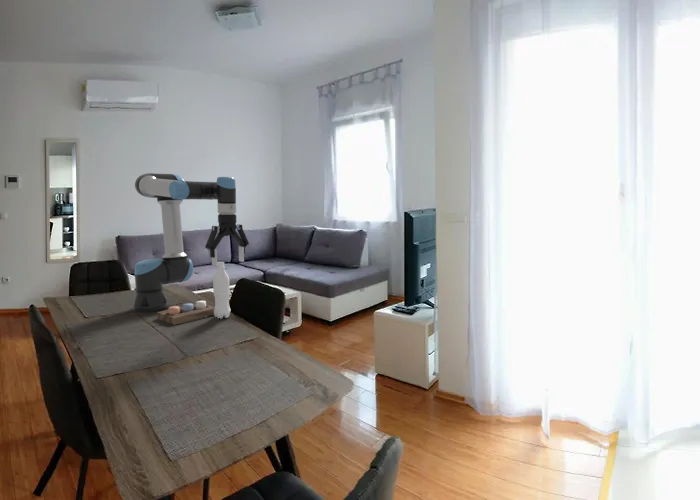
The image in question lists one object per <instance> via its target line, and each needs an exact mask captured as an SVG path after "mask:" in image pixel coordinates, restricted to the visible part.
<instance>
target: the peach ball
mask: <svg viewBox="0 0 700 500" xmlns="http://www.w3.org/2000/svg"><path fill="white" fill-rule="evenodd" d="M179 307H180V306H178V305H173V306H169V307H167V308H168V309H167V310H169V315H171V316H172V315H176V314H180V309H179Z"/></svg>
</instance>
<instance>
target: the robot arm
mask: <svg viewBox="0 0 700 500" xmlns="http://www.w3.org/2000/svg"><path fill="white" fill-rule="evenodd" d="M134 188H135V190H136V192H137V193H138V194H140V195H141V196H142V197H145V198H150V199H151V198H153V199H156V201H157V202H156V203H158V204H159V205H160V208H161V218H162V219H161V221H162V222H161V223H162V229H163V230H162V231H163V232H162V233H163V242H164V245H163V246H164V255H162V257H161V258H162V259H161V258H149V259H143V260H140V261H138V262H136V263H135V265H134V273H133V274H134V284H135V296H134V299H133V303H132V311H133V312H136V313H150V312H151V313H152V312H159V311H163V310H164V309H166V308H168V301H167V298H166V296H165V293H164V291H163V290H164V289H163V285H169V284H170V285H171V284H175V283H182V282H183V283H184V282H186V281H189V280H190V279H191V277H192V276H193V272H194V263H193V261H192V259H190V258H189V257H188V254H187V253H185V252H184V239H183V230H182V229H183V228H182V217H181V206H180V205H181V204H182V202H183V200H206V201H207V200H211V201H213V200H217V213H218V215H217V223H218V225H212V226H211V232H210V234H209V237H208V239H207V240H206V244H205V249H208V250H209V257H210V258H211V265H212V266H217V262H218V249H216V248H217V247H218V245H219V244H220V243H221V241H222V239H223V238H225V237H228V236H232V237H233V239H234V240H235V241H236V242H237V244H239V246H238V261H239V262H241V263H243V262H245V254H246V247H247V246H248V245H249V244H250V243H249V240H248V238H247V236H246V234H245V232H244V229H243V224H236V223H237V214H236V213H237V189H236V188H237V186H236V179H235V178H234V177H233V176H218V177H217V178H216V181H190V180H189V181H188V180H185V179H183V177H182V176H181V175H179V174H173V173H153V172H150V173H149V172H148V173H143V174H141V175H139V176H138V177H137V178H136V180H135V182H134Z"/></svg>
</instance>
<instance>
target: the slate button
mask: <svg viewBox="0 0 700 500" xmlns="http://www.w3.org/2000/svg"><path fill="white" fill-rule="evenodd" d="M193 305H194V303H189V302H188V303H187V302H186V303H183V304H182V307H183V312H190V311H193Z"/></svg>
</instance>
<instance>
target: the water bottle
mask: <svg viewBox="0 0 700 500" xmlns="http://www.w3.org/2000/svg"><path fill="white" fill-rule="evenodd" d="M230 281H231V280H230V277H229V275H228V273H227V272H226V266H225V261H217V265H216V272H215V274H214V276H213V278H212V282H213V283H212V286H213V287H212V288H213V291H212V294H213V296H214V307H215V309H214V315H213V316H214V318H216V317H217V318H216V319H219V318H220V319H219V320H222V319H223V318H225V319H228V318H229V317H230V315H231V307H230V301H229V299H230V294H231V290H230V289H231V287H230Z"/></svg>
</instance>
